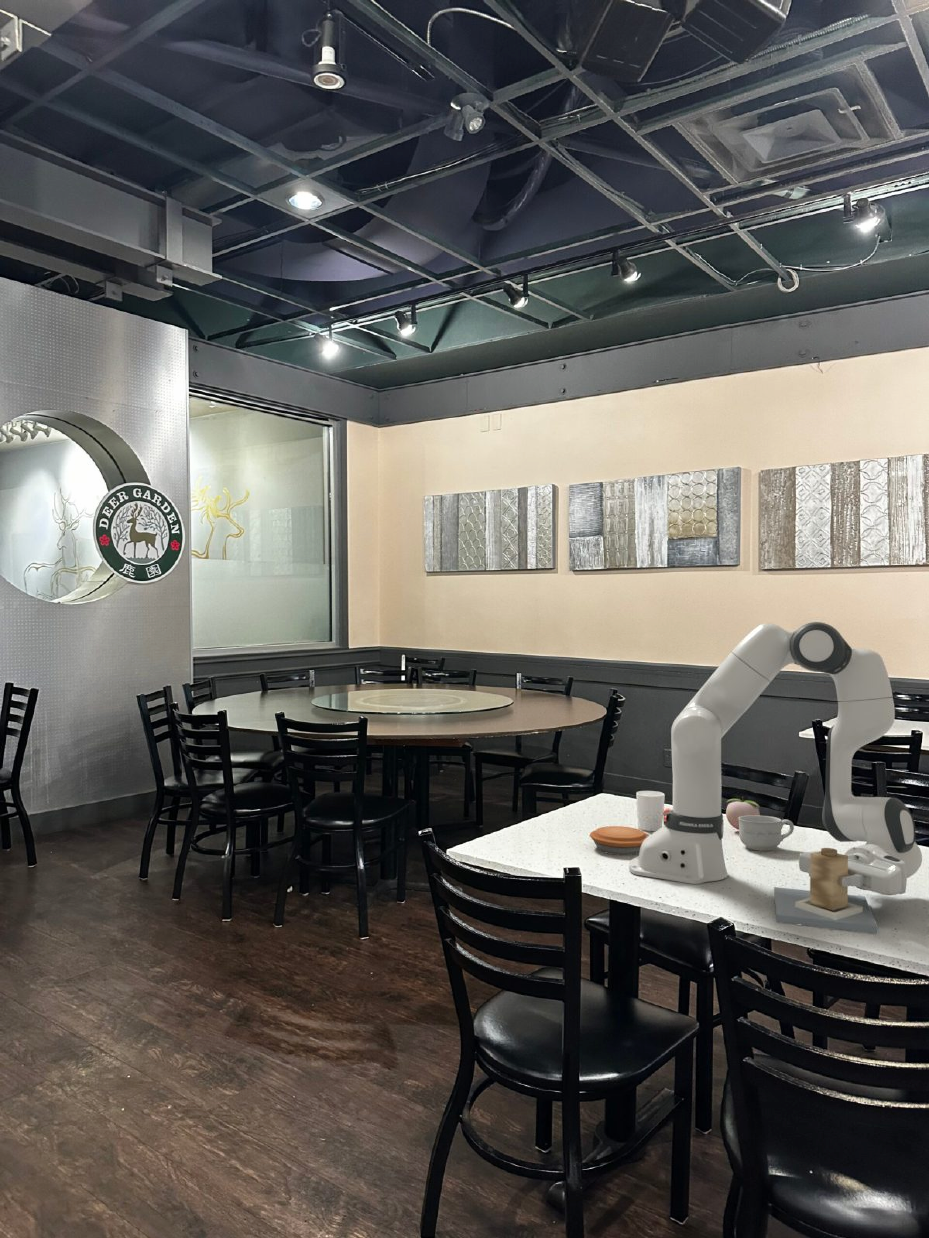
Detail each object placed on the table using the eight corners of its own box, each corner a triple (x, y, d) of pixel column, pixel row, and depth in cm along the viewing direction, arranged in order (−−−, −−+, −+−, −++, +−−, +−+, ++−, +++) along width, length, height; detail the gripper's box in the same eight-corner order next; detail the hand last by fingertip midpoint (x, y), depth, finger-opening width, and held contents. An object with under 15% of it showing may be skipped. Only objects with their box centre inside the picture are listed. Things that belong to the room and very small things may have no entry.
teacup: (739, 852, 219) (740, 820, 219) (736, 841, 229) (736, 811, 229) (797, 856, 215) (797, 824, 215) (791, 845, 226) (791, 815, 226)
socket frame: (795, 906, 172) (795, 901, 172) (821, 899, 177) (821, 894, 177) (835, 920, 165) (835, 914, 165) (862, 911, 170) (862, 906, 170)
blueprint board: (776, 922, 167) (776, 914, 167) (774, 893, 185) (774, 886, 185) (877, 933, 162) (877, 925, 162) (864, 903, 179) (865, 896, 179)
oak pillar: (809, 903, 172) (810, 848, 172) (824, 898, 174) (825, 845, 174) (832, 910, 167) (833, 854, 168) (847, 905, 170) (847, 850, 170)
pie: (577, 848, 221) (577, 829, 221) (612, 838, 231) (612, 820, 231) (627, 861, 210) (627, 841, 210) (661, 849, 220) (662, 830, 220)
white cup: (644, 823, 248) (644, 789, 248) (669, 828, 243) (669, 793, 243) (631, 828, 242) (631, 793, 242) (656, 833, 237) (656, 797, 237)
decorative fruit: (723, 833, 238) (723, 797, 238) (727, 827, 245) (727, 792, 245) (758, 837, 234) (758, 801, 234) (761, 830, 241) (761, 795, 241)
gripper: (821, 840, 187) (781, 849, 179) (913, 863, 170) (874, 874, 162) (820, 869, 187) (781, 879, 179) (913, 895, 170) (873, 907, 162)
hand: (826, 877), depth 170 cm, fingers closed on oak pillar, 5 cm apart
